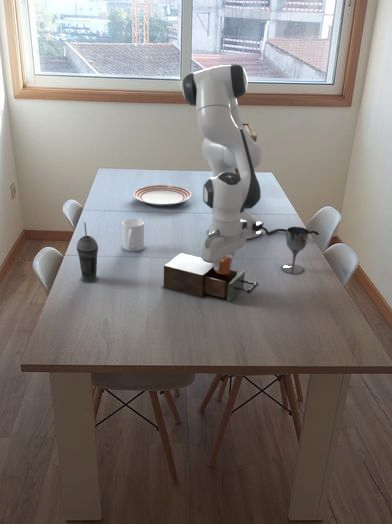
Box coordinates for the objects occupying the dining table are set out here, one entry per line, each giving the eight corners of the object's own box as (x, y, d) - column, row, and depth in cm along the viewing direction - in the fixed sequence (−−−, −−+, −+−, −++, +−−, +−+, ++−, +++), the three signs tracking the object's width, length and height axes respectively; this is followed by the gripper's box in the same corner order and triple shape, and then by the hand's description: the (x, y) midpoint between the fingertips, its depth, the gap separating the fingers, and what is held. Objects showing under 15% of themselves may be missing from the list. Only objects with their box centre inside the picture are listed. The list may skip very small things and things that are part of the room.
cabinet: (217, 283, 203) (219, 261, 198) (201, 297, 193) (203, 275, 189) (180, 274, 208) (181, 252, 203) (163, 287, 198) (163, 265, 194)
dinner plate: (170, 213, 261) (170, 206, 259) (121, 201, 273) (121, 194, 271) (202, 198, 281) (202, 191, 279) (155, 187, 293) (155, 181, 291)
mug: (140, 256, 219) (140, 230, 214) (118, 255, 220) (118, 229, 214) (145, 244, 229) (145, 219, 224) (125, 243, 230) (124, 218, 224)
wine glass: (305, 267, 217) (311, 228, 209) (301, 275, 211) (307, 236, 203) (284, 263, 219) (289, 225, 211) (279, 271, 213) (284, 232, 205)
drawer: (259, 292, 196) (261, 275, 193) (246, 306, 187) (248, 288, 184) (207, 279, 203) (208, 262, 200) (193, 292, 194) (193, 274, 191)
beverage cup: (82, 285, 197) (78, 228, 186) (76, 276, 202) (71, 221, 192) (103, 281, 200) (100, 226, 189) (95, 273, 205) (92, 218, 195)
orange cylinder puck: (227, 267, 194) (228, 255, 192) (232, 273, 190) (233, 261, 188) (213, 268, 193) (214, 256, 191) (218, 275, 189) (219, 262, 187)
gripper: (214, 238, 175) (212, 279, 182) (251, 221, 189) (247, 260, 196) (198, 232, 178) (196, 273, 186) (235, 216, 192) (232, 255, 199)
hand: (223, 266), depth 191 cm, fingers closed on orange cylinder puck, 5 cm apart
